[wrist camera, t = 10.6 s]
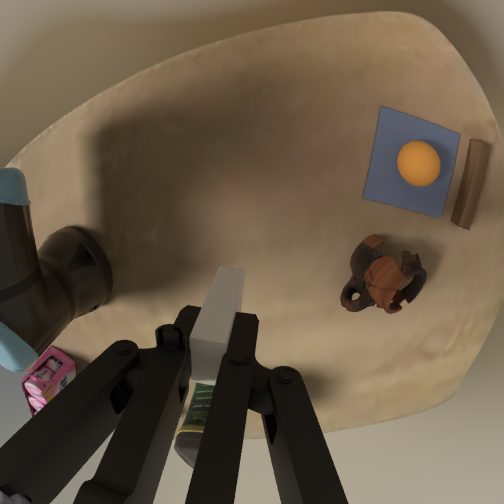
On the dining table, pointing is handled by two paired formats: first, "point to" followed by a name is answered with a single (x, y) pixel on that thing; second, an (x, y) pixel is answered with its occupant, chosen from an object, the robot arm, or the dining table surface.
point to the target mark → (386, 170)
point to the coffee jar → (194, 424)
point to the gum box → (47, 378)
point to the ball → (418, 163)
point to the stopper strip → (471, 184)
